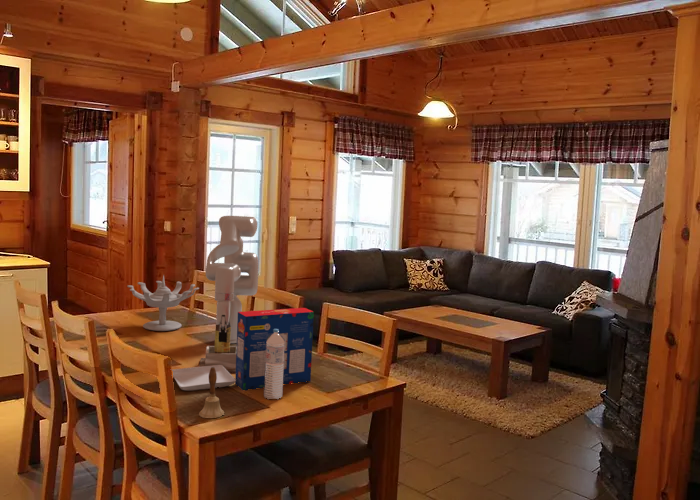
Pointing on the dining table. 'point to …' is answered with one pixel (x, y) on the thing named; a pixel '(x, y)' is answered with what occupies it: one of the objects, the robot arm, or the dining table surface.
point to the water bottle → (274, 366)
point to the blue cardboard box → (252, 345)
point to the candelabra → (162, 303)
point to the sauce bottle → (222, 346)
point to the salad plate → (201, 377)
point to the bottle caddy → (220, 359)
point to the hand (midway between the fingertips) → (222, 339)
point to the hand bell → (212, 399)
